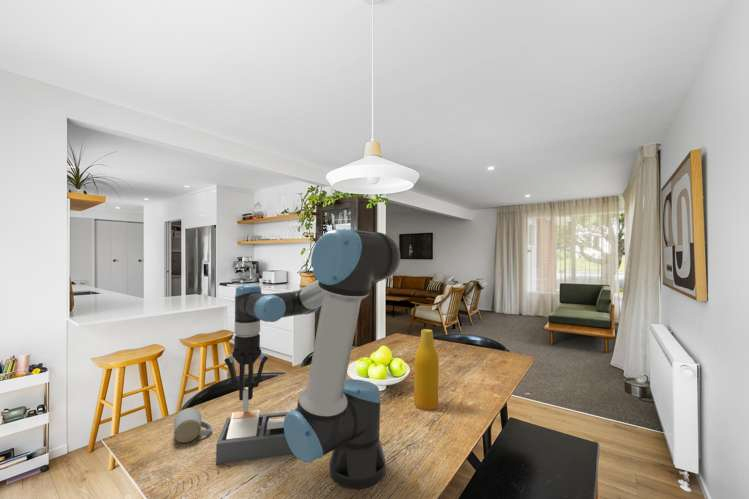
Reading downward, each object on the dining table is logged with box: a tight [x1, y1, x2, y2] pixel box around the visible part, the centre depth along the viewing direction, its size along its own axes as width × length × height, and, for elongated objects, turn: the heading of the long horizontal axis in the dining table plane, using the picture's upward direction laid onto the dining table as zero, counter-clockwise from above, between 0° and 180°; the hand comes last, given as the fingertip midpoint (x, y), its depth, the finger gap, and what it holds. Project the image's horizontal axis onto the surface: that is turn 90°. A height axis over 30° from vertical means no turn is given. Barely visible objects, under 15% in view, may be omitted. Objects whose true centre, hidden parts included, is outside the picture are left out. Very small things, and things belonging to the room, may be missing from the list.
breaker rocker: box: [226, 409, 261, 440], centre depth 100 cm, size 10×9×2 cm
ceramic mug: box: [173, 407, 213, 444], centre depth 105 cm, size 11×8×8 cm
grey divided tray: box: [215, 411, 295, 465], centre depth 101 cm, size 15×23×8 cm, turn 104°
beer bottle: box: [413, 328, 440, 411], centre depth 129 cm, size 9×9×29 cm
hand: (245, 409), depth 104 cm, fingers closed
